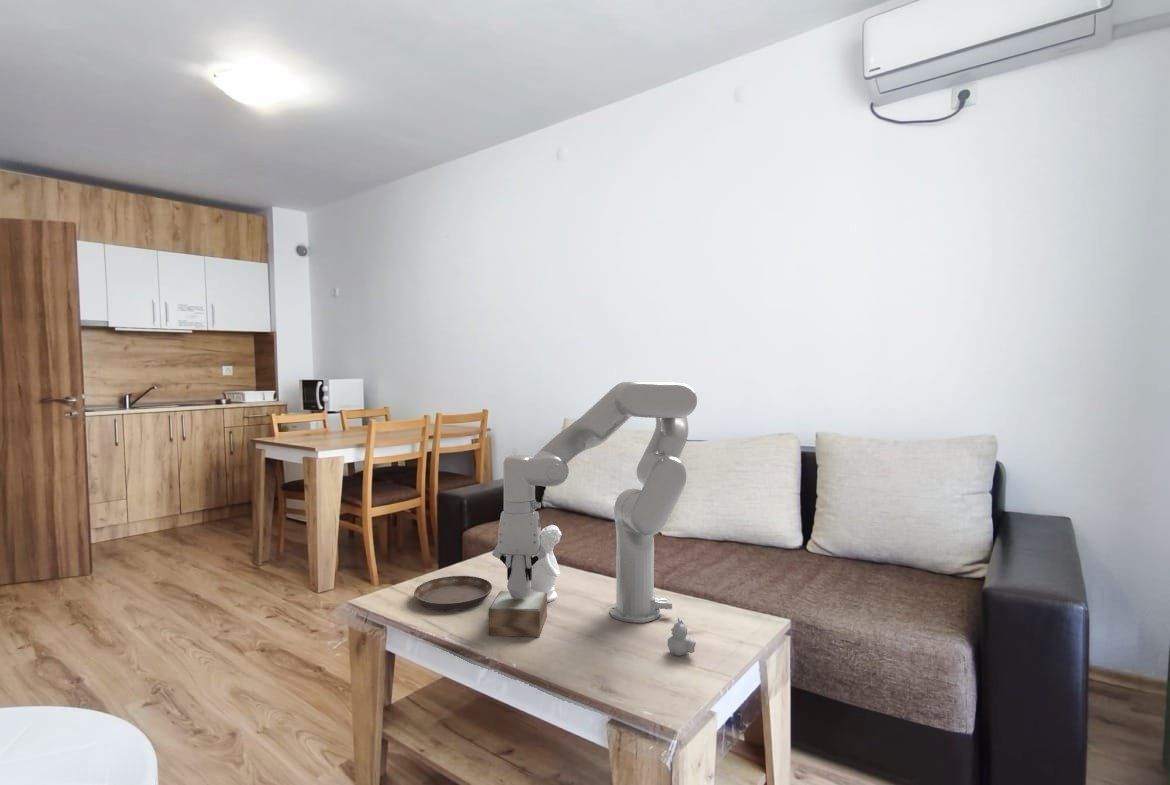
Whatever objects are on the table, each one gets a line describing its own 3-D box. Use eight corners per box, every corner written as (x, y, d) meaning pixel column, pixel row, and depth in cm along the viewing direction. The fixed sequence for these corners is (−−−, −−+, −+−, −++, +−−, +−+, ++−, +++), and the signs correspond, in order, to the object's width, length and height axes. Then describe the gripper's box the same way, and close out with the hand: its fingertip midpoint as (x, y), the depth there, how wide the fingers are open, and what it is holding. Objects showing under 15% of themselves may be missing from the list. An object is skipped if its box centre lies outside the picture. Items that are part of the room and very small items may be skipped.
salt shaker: (502, 595, 143) (502, 541, 143) (521, 589, 147) (521, 537, 147) (517, 601, 139) (517, 546, 139) (536, 595, 143) (536, 542, 143)
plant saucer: (460, 620, 147) (460, 606, 147) (397, 606, 156) (397, 593, 156) (506, 594, 166) (506, 582, 165) (447, 583, 174) (447, 571, 174)
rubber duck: (674, 646, 132) (674, 610, 132) (701, 654, 128) (701, 618, 128) (661, 654, 128) (662, 618, 128) (689, 663, 124) (689, 625, 124)
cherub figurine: (566, 600, 160) (567, 519, 160) (528, 611, 153) (529, 526, 152) (540, 587, 170) (541, 511, 169) (503, 597, 162) (503, 517, 161)
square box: (546, 616, 149) (547, 591, 148) (539, 637, 137) (539, 610, 137) (499, 615, 150) (499, 590, 149) (488, 635, 138) (488, 608, 137)
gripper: (555, 504, 146) (555, 578, 146) (489, 503, 147) (490, 577, 147) (550, 510, 138) (551, 589, 139) (482, 509, 140) (482, 587, 140)
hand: (519, 582), depth 143 cm, fingers closed on salt shaker, 3 cm apart
